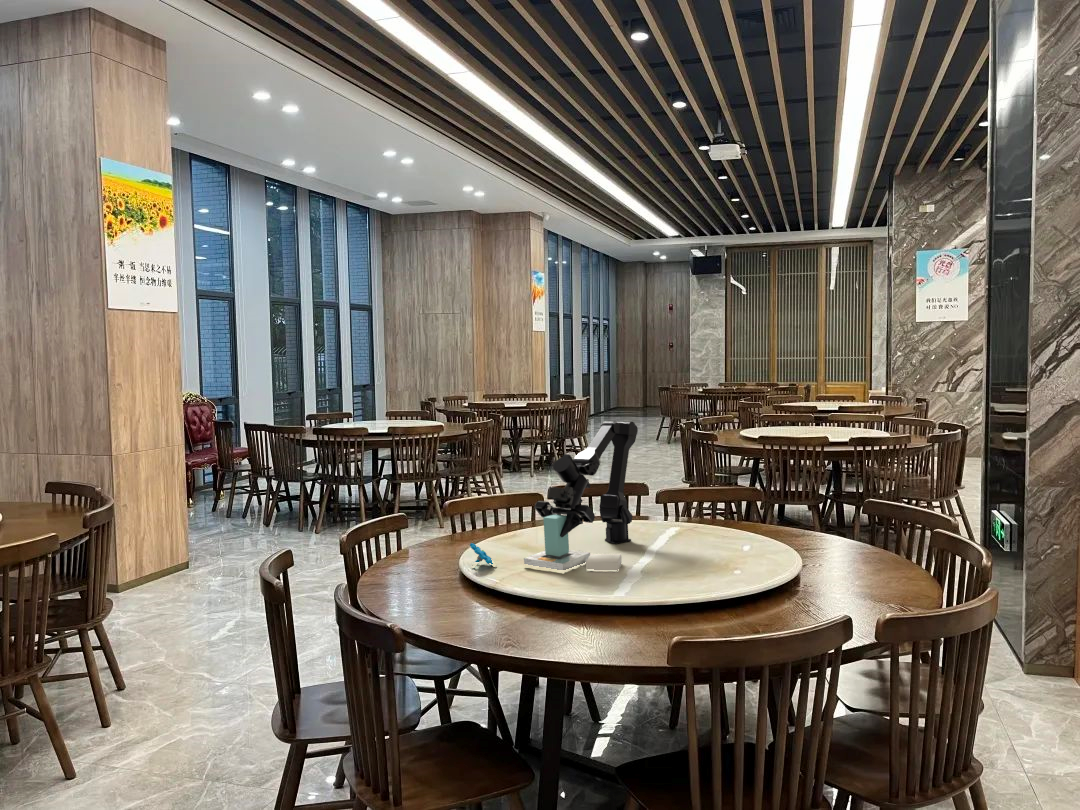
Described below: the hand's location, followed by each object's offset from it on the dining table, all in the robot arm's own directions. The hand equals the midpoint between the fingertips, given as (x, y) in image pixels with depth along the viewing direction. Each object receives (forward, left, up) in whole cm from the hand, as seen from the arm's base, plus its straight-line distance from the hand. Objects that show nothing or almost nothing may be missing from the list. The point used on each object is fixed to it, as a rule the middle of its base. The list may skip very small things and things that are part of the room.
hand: (553, 535), depth 258 cm
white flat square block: (-10, +11, -9) cm, 17 cm away
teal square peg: (-1, -1, -6) cm, 6 cm away
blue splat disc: (+17, -13, -9) cm, 24 cm away
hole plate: (-1, 0, -9) cm, 9 cm away
